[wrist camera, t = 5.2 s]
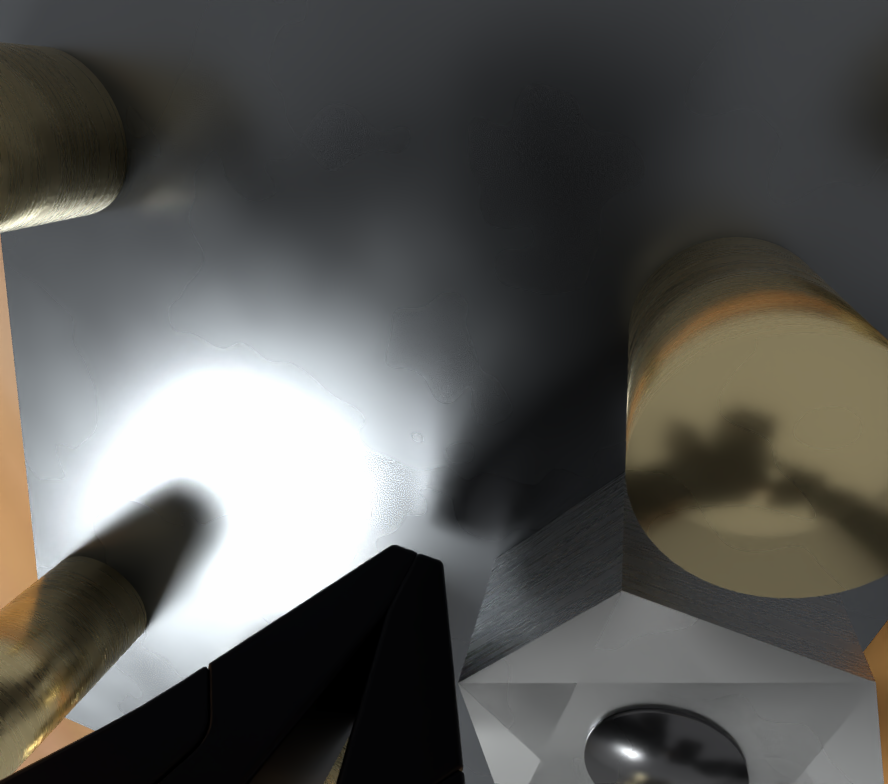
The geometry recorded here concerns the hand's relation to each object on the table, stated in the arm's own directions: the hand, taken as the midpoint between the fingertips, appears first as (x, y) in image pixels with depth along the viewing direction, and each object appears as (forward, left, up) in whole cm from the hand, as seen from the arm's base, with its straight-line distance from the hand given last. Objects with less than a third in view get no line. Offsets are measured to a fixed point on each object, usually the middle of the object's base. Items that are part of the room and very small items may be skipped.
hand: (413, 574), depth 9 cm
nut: (-4, 0, -1) cm, 4 cm away
